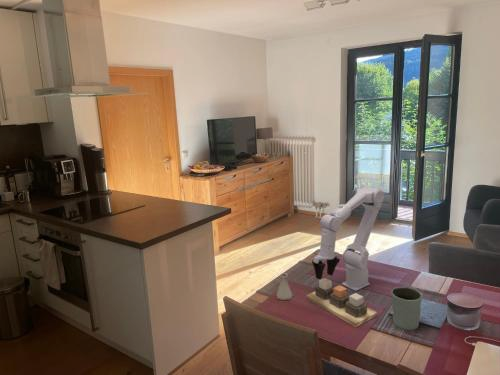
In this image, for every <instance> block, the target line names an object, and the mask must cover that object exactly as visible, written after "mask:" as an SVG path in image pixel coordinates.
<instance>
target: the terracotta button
mask: <svg viewBox="0 0 500 375" xmlns="http://www.w3.org/2000/svg"><path fill="white" fill-rule="evenodd" d="M334 287H335V288H333V295H335V296H336V297H338V298H340V299H341V298H343V297H345V296H347V294H348V293H347V290H348V287H346V286H342V285H340V284H339V285H337V286H334Z"/></svg>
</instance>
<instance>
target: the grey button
mask: <svg viewBox="0 0 500 375" xmlns="http://www.w3.org/2000/svg"><path fill="white" fill-rule="evenodd" d="M363 302H364V296H363V295H361V294H359V293H356V292H355V293H352V294H351V296H349V303H350V304H351V305H353V306H355V307H358V306H360V305H362V304H363Z"/></svg>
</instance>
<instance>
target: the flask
mask: <svg viewBox="0 0 500 375" xmlns="http://www.w3.org/2000/svg"><path fill="white" fill-rule="evenodd" d="M288 277H289V276H288V273H285V272H283V273H282V272H281V273H280V283H279V286H278V289H277V291H276V295H275V296H276V299H277V300H281V301H290V300H292V298H294V296H293V293H292V291H291V288H290V285H289V283H288Z"/></svg>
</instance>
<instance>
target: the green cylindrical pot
mask: <svg viewBox="0 0 500 375" xmlns="http://www.w3.org/2000/svg"><path fill="white" fill-rule="evenodd" d="M390 294H391V304H392V305H391V306H392V321H393V324H394V325H395V326H396V327H398V328H399V329H402V330H406V331H414V330H417V329H418V327H419V324H420V317H421V307H422V300H423V294H422V293H421V291H419V290H418V289H417V288H414V287H411V286H410V287H409V286H396V287H394V288H392V290H391V293H390Z"/></svg>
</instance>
